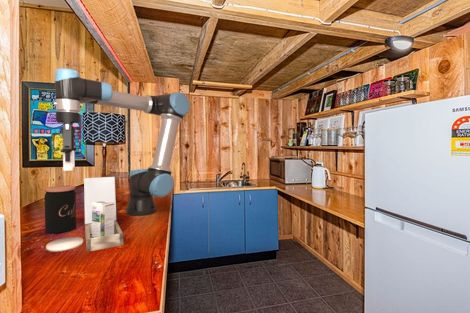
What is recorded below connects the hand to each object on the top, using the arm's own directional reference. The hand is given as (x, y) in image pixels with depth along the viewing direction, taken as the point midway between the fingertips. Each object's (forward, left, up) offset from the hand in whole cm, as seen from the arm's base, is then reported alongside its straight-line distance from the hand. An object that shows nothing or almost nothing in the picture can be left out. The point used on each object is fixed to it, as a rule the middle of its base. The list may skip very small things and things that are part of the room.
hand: (69, 168), depth 95 cm
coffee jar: (+3, -12, -27) cm, 30 cm away
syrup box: (-11, +8, -27) cm, 30 cm away
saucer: (+1, +7, -27) cm, 28 cm away
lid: (-11, -4, -14) cm, 18 cm away
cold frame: (-11, +8, -27) cm, 30 cm away
